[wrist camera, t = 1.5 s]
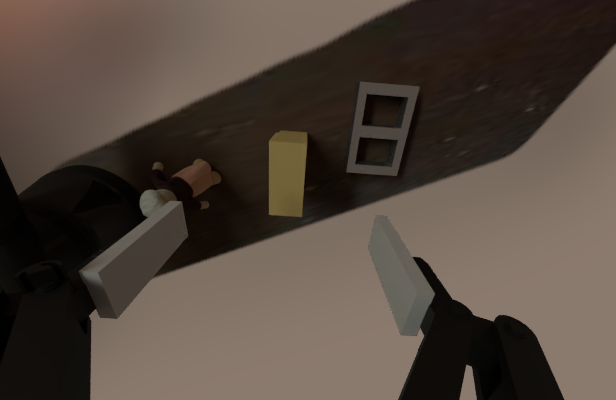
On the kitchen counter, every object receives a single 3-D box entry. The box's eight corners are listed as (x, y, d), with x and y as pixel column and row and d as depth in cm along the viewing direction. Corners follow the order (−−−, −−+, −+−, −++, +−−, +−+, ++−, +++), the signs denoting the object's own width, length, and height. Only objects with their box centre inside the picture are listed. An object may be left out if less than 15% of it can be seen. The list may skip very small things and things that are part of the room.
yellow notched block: (279, 182, 34) (269, 214, 25) (280, 126, 30) (269, 141, 21) (303, 183, 34) (301, 216, 25) (307, 128, 31) (307, 143, 22)
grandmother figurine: (232, 175, 33) (193, 219, 22) (220, 194, 35) (176, 244, 23) (184, 143, 31) (113, 172, 20) (172, 164, 33) (99, 203, 21)
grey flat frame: (343, 167, 33) (346, 172, 31) (356, 82, 28) (360, 81, 26) (391, 170, 33) (396, 175, 31) (411, 87, 28) (419, 86, 26)
